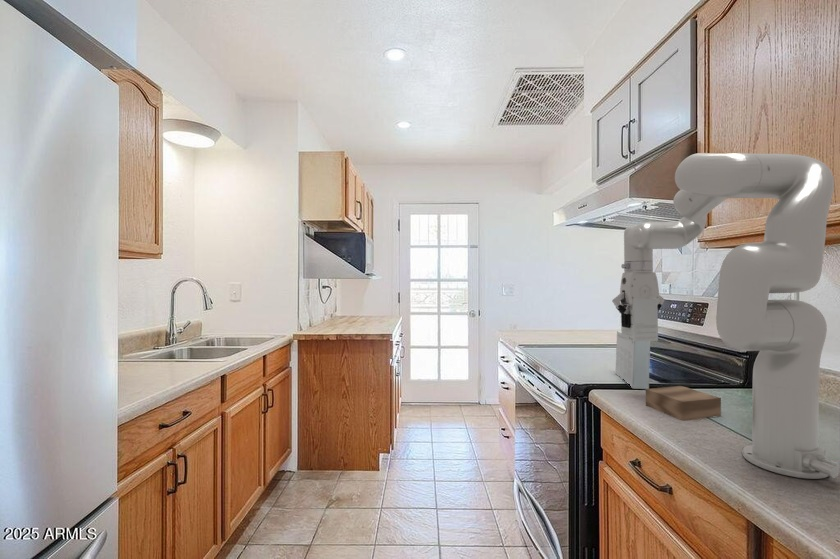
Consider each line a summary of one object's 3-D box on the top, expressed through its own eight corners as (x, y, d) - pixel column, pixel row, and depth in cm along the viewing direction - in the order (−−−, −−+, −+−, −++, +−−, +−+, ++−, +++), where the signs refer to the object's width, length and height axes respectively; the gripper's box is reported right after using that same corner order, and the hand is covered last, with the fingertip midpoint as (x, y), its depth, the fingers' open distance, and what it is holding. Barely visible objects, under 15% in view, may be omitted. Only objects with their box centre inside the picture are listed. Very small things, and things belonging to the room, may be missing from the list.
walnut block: (720, 417, 106) (720, 398, 106) (682, 421, 103) (682, 401, 103) (681, 403, 118) (681, 385, 118) (645, 406, 115) (645, 388, 115)
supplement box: (644, 338, 126) (643, 296, 126) (658, 341, 119) (658, 297, 119) (620, 338, 126) (620, 297, 126) (633, 342, 119) (633, 298, 119)
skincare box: (651, 390, 130) (651, 339, 130) (632, 389, 131) (632, 339, 131) (631, 374, 151) (631, 330, 150) (614, 373, 152) (614, 330, 151)
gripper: (620, 267, 117) (621, 329, 117) (673, 267, 120) (674, 327, 120) (604, 268, 125) (604, 326, 125) (654, 268, 128) (655, 324, 128)
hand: (638, 326), depth 123 cm, fingers closed on supplement box, 7 cm apart
